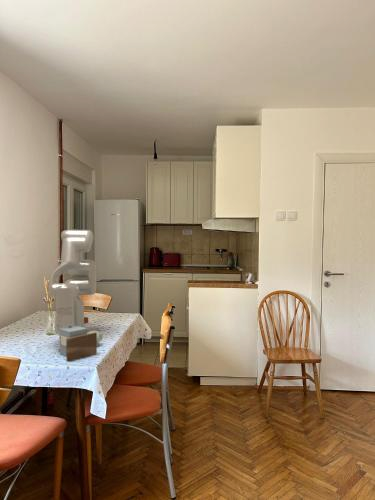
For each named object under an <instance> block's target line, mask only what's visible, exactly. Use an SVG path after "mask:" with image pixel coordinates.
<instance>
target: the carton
mask: <svg viewBox="0 0 375 500" xmlns="http://www.w3.org/2000/svg"><path fill="white" fill-rule="evenodd" d="M88 323H89V317H88V316H84V325H85V324H88Z"/></svg>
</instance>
